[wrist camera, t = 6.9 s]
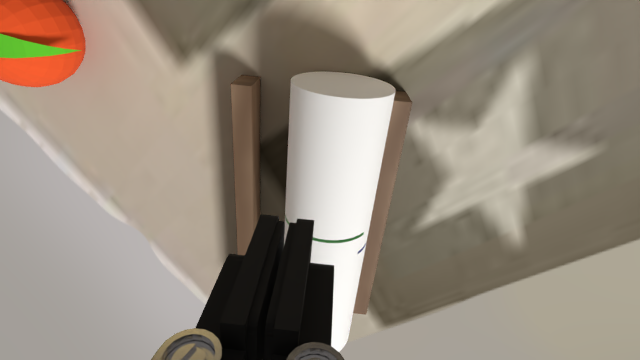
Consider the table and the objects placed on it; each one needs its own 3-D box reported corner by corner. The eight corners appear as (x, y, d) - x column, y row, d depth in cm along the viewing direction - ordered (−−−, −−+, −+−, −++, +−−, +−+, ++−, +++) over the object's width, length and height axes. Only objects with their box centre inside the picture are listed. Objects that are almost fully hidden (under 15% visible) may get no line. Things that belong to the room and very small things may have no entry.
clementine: (114, -10, 25) (38, -10, 19) (124, 85, 28) (62, 112, 22) (3, -32, 25) (-111, -39, 19) (26, 66, 28) (-65, 88, 22)
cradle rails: (405, 91, 27) (412, 102, 25) (364, 291, 38) (366, 314, 35) (241, 75, 27) (230, 84, 25) (246, 278, 38) (239, 300, 35)
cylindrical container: (324, 67, 28) (304, 289, 40) (269, 81, 22) (265, 334, 34) (409, 85, 25) (360, 319, 37) (370, 106, 19) (327, 373, 32)
